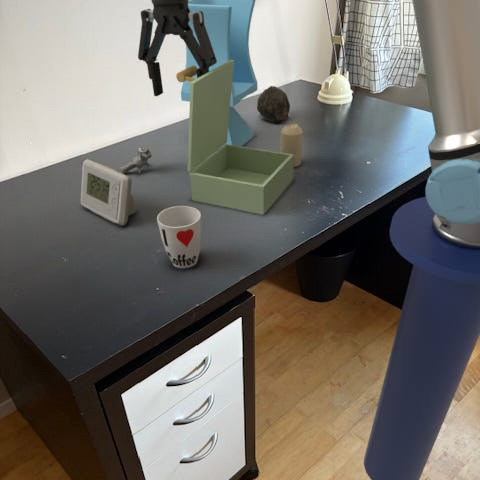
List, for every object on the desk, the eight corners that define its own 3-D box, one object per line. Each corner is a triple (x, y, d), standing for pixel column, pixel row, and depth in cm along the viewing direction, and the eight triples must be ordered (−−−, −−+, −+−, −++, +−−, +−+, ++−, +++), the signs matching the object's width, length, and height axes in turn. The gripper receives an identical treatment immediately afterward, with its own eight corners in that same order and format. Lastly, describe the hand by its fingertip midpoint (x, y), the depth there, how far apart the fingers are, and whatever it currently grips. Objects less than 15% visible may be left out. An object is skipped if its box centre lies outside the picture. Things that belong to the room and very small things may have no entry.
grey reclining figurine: (120, 166, 130) (149, 150, 130) (131, 186, 130) (160, 169, 130) (111, 155, 120) (142, 138, 120) (123, 176, 120) (154, 159, 120)
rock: (276, 124, 147) (275, 89, 141) (251, 121, 154) (250, 87, 149) (298, 120, 152) (298, 85, 147) (273, 117, 160) (273, 84, 154)
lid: (234, 60, 107) (204, 51, 109) (193, 83, 95) (160, 73, 97) (226, 142, 121) (200, 133, 123) (190, 172, 109) (161, 161, 111)
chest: (292, 180, 120) (293, 154, 115) (263, 215, 107) (263, 187, 103) (226, 169, 126) (225, 143, 122) (192, 200, 114) (189, 173, 109)
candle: (292, 157, 130) (293, 119, 124) (305, 163, 127) (307, 125, 120) (276, 162, 128) (276, 124, 122) (289, 169, 125) (290, 130, 118)
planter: (234, 155, 133) (228, 6, 109) (186, 147, 138) (171, 4, 115) (257, 135, 143) (256, -4, 120) (212, 129, 148) (202, -6, 125)
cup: (159, 271, 92) (151, 226, 86) (171, 248, 98) (164, 204, 92) (199, 274, 91) (194, 229, 85) (209, 251, 97) (205, 206, 90)
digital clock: (79, 206, 113) (67, 163, 106) (114, 194, 117) (104, 152, 110) (108, 233, 104) (97, 188, 96) (145, 220, 107) (137, 175, 100)
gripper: (229, -22, 92) (234, 97, 107) (129, -24, 101) (146, 87, 115) (211, -16, 87) (218, 108, 102) (108, -19, 96) (128, 96, 110)
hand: (180, 97), depth 109 cm, fingers open, 11 cm apart
